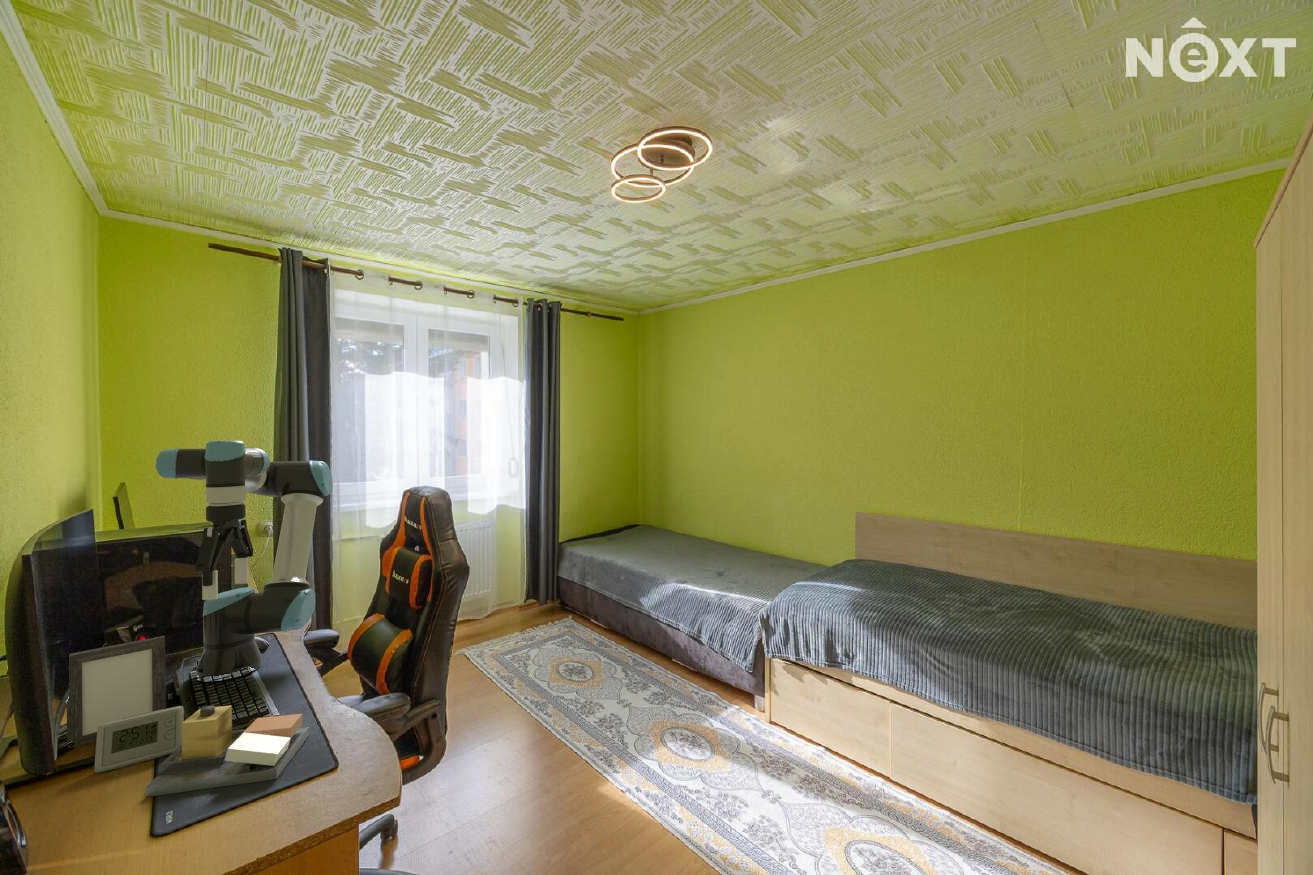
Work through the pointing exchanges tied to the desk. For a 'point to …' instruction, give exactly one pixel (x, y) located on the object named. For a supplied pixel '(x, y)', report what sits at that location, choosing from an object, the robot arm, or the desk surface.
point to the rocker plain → (257, 749)
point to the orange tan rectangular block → (276, 725)
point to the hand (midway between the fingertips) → (226, 591)
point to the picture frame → (114, 686)
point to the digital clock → (138, 738)
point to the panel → (217, 769)
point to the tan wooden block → (207, 732)
